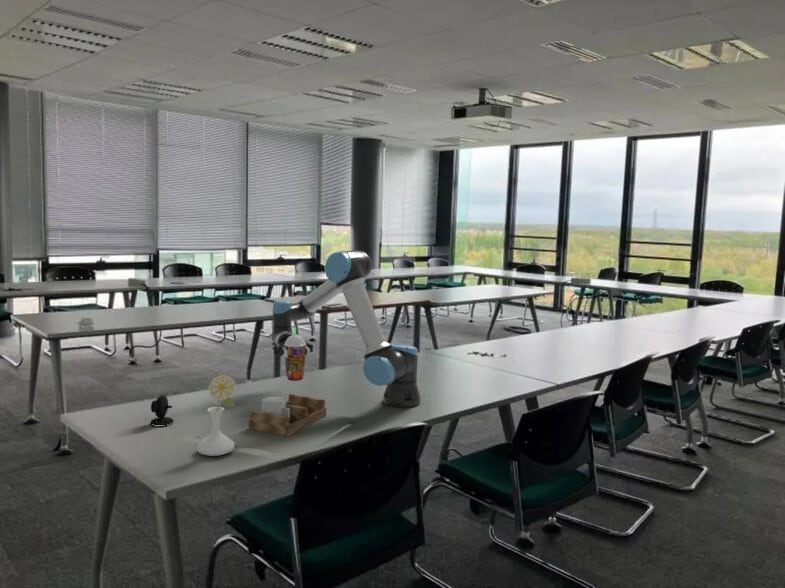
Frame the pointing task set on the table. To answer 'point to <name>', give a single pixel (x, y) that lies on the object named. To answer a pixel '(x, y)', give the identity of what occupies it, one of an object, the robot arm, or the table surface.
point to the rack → (300, 416)
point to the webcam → (161, 411)
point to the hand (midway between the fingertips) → (297, 353)
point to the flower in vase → (218, 418)
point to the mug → (275, 406)
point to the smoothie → (295, 357)
